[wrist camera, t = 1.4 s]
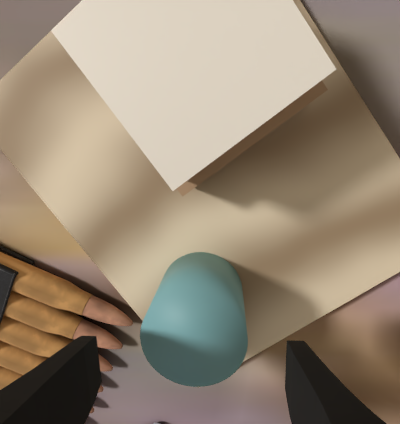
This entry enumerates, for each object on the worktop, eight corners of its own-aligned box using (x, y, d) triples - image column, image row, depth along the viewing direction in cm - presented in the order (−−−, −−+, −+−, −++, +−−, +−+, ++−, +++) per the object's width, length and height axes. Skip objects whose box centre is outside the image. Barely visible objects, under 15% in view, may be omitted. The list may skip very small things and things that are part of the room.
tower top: (309, 87, 12) (336, 69, 9) (184, 180, 13) (172, 191, 10) (216, -56, 11) (212, -127, 8) (92, 57, 12) (51, 30, 9)
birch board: (441, 237, 16) (452, 241, 16) (199, 377, 19) (198, 387, 19) (217, -116, 14) (217, -131, 13) (-20, 112, 17) (-32, 111, 16)
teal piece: (258, 300, 17) (269, 354, 13) (193, 339, 18) (183, 403, 14) (210, 236, 17) (204, 270, 12) (145, 280, 17) (118, 327, 13)
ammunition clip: (-74, 232, 17) (134, 320, 17) (-46, 223, 18) (142, 302, 19) (-109, 384, 19) (74, 455, 20) (-81, 362, 21) (86, 428, 21)
